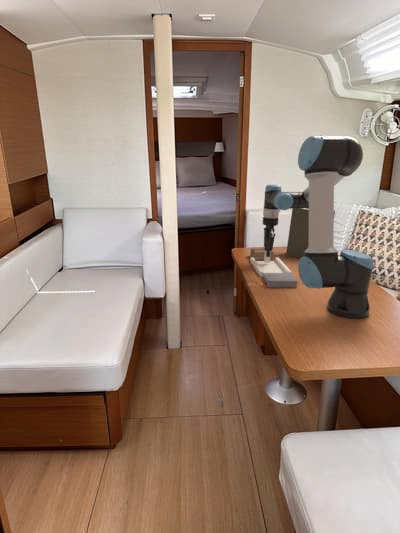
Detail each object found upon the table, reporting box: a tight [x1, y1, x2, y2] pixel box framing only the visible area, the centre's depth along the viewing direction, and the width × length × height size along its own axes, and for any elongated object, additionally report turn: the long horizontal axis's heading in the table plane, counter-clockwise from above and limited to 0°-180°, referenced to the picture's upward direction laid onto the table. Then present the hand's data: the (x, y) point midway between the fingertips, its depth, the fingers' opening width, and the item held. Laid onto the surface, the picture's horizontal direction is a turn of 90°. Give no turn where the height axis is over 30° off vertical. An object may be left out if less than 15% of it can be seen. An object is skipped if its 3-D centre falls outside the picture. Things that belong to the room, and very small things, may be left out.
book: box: [286, 208, 336, 259], centre depth 200 cm, size 22×9×28 cm, turn 79°
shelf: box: [249, 256, 293, 277], centre depth 182 cm, size 22×15×3 cm
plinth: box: [262, 273, 298, 288], centre depth 166 cm, size 10×13×3 cm
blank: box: [250, 246, 274, 261], centre depth 197 cm, size 8×10×6 cm
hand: (266, 262), depth 188 cm, fingers closed
